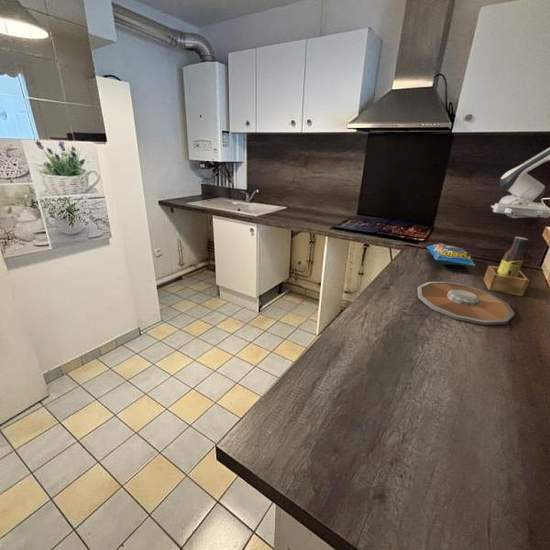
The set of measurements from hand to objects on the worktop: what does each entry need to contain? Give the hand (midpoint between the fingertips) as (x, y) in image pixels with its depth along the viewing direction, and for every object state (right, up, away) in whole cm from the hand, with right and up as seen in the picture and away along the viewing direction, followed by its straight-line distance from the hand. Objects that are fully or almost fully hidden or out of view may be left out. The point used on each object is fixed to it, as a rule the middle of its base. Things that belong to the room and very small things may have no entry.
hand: (526, 213), depth 122 cm
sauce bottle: (-14, -30, -5) cm, 34 cm away
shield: (-39, -36, -18) cm, 56 cm away
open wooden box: (-14, -31, -5) cm, 35 cm away
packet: (-23, -21, +18) cm, 36 cm away
